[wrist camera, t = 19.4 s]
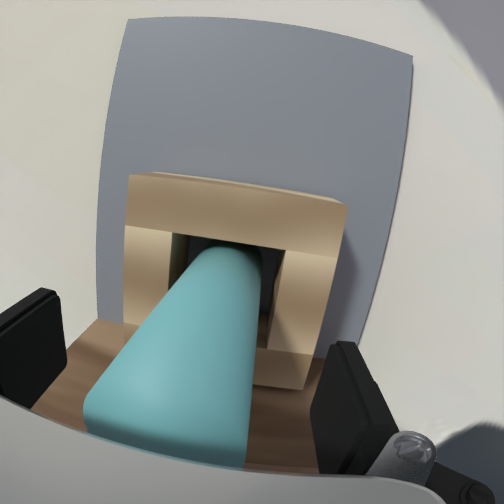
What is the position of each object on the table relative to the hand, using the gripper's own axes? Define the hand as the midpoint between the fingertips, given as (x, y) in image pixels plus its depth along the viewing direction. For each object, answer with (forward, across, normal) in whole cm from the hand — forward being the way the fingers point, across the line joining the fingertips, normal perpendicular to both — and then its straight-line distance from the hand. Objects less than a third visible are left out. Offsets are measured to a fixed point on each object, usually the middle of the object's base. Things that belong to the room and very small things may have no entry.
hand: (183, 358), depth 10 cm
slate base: (+10, -1, -4) cm, 11 cm away
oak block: (+10, -1, 0) cm, 10 cm away
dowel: (+10, -1, 0) cm, 10 cm away
